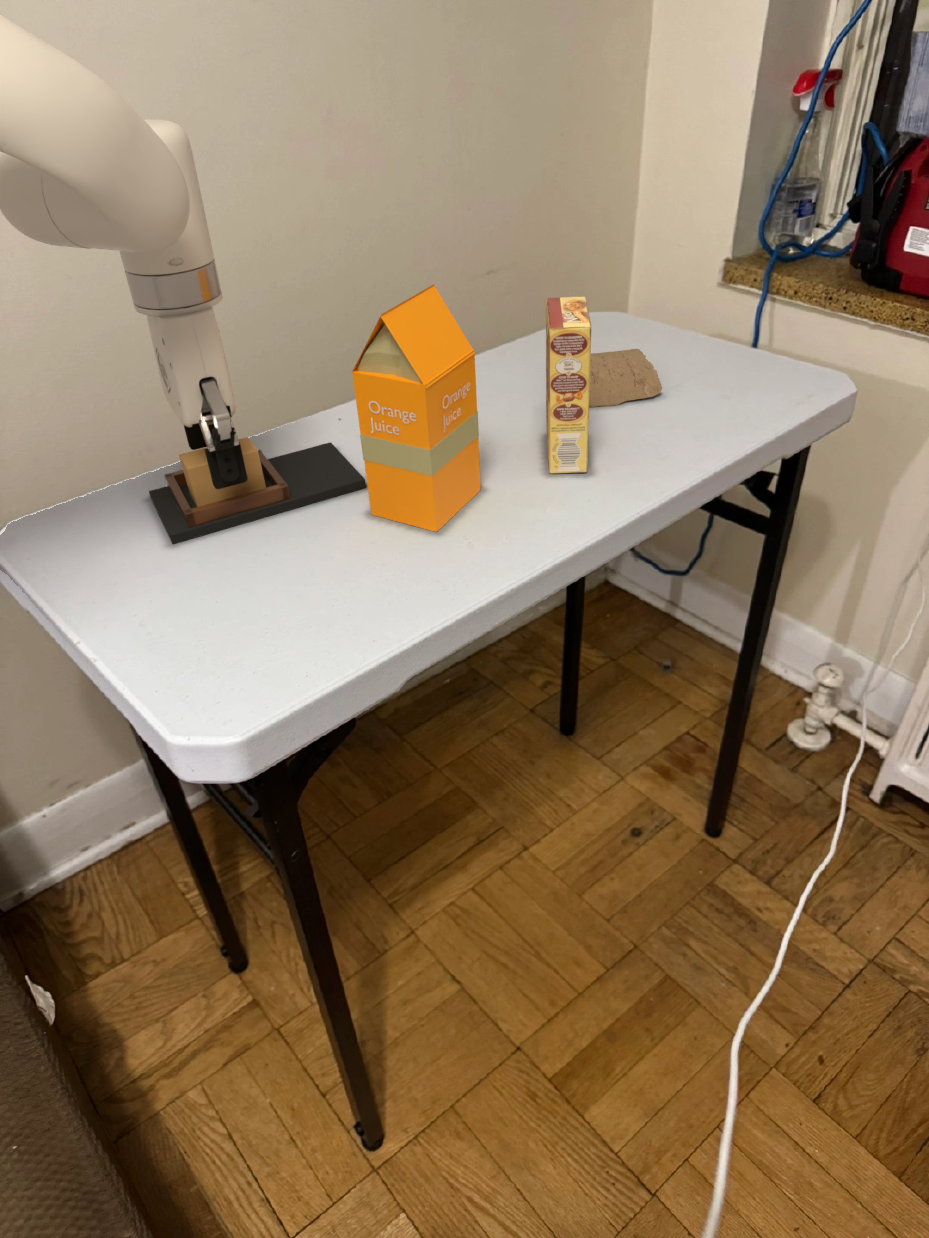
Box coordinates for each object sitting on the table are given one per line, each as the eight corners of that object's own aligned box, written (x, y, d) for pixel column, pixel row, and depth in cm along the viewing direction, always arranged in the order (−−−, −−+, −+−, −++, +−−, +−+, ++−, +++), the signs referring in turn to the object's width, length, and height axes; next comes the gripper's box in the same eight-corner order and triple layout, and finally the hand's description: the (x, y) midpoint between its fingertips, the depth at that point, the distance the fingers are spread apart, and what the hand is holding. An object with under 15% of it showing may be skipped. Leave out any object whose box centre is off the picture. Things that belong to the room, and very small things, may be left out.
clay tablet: (665, 397, 103) (667, 375, 101) (582, 407, 101) (583, 385, 100) (625, 354, 114) (626, 333, 112) (551, 363, 113) (551, 342, 111)
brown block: (266, 491, 87) (258, 450, 85) (198, 510, 85) (187, 469, 82) (256, 476, 90) (247, 436, 87) (189, 494, 88) (178, 454, 85)
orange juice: (482, 490, 87) (473, 288, 75) (437, 532, 82) (420, 321, 69) (416, 474, 91) (398, 278, 78) (369, 514, 85) (340, 309, 72)
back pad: (172, 544, 82) (165, 522, 81) (150, 499, 89) (144, 477, 88) (366, 487, 89) (363, 466, 87) (332, 450, 96) (328, 429, 95)
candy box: (588, 474, 89) (594, 326, 79) (547, 475, 89) (548, 327, 80) (582, 435, 96) (587, 294, 86) (544, 436, 96) (545, 296, 87)
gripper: (113, 270, 80) (161, 441, 90) (151, 321, 67) (201, 512, 78) (194, 256, 82) (231, 424, 93) (245, 303, 70) (281, 491, 80)
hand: (217, 464), depth 85 cm, fingers open, 9 cm apart
